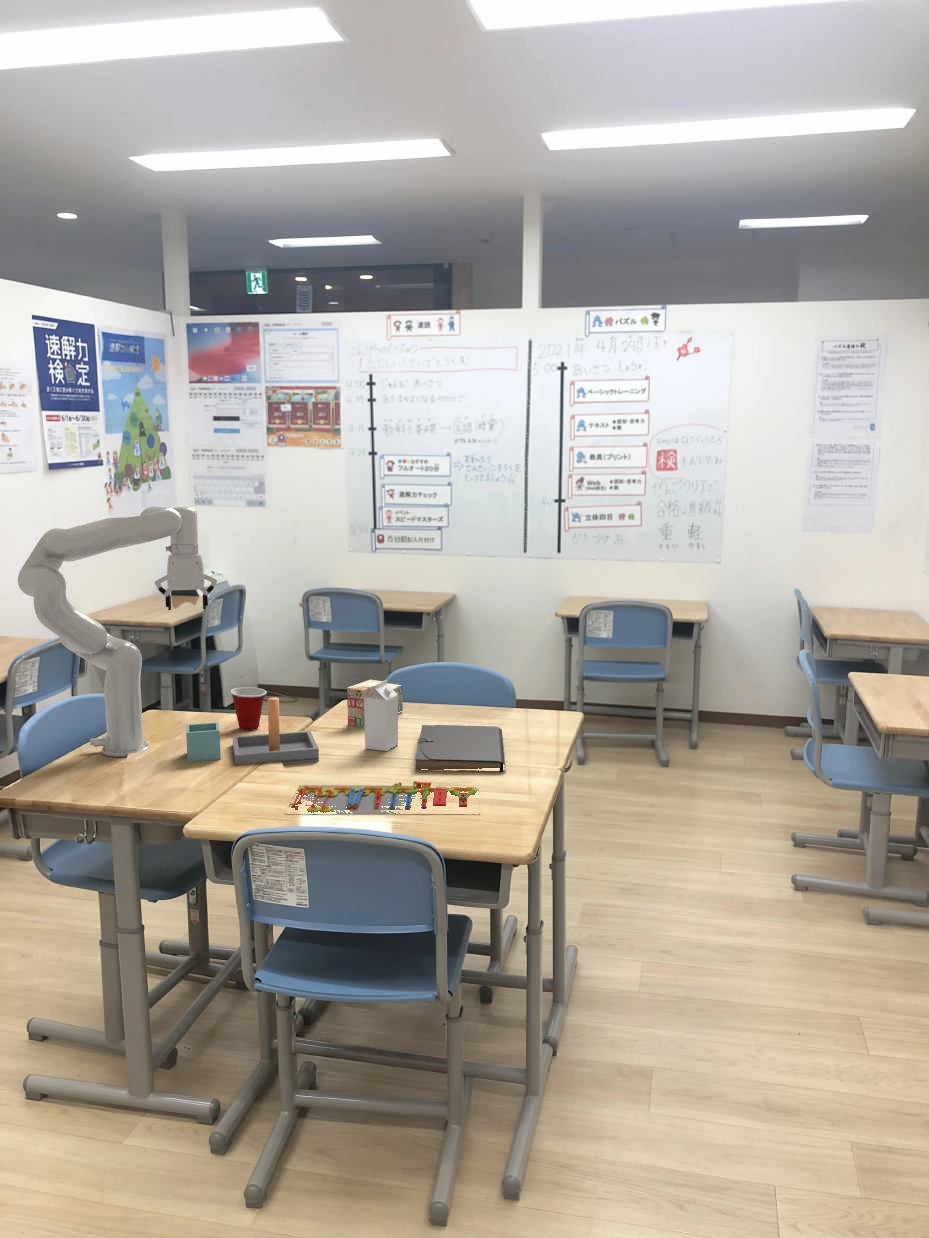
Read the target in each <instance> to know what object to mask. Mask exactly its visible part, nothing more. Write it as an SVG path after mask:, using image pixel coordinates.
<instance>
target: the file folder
mask: <svg viewBox="0 0 929 1238" xmlns="http://www.w3.org/2000/svg"><path fill="white" fill-rule="evenodd" d="M420 730H421V731H420V734H419V738H418V742H417V748H416V753H415V757H414V760H415V770H421V769H428V770H444V769H478V768H479V769H482V768H502V767H501V766H502V763H503V764H504V765H505V766H506V762H505V750H504V749H505V748H504V739H503V730H502V729H501V727H500V726H494V725H491V726H490V725H487V726H486V725H460V724H459V725H456V724H455V725H454V724H453V725H452V724H435V725H430V724H421V729H420Z"/></svg>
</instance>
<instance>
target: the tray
mask: <svg viewBox="0 0 929 1238" xmlns="http://www.w3.org/2000/svg"><path fill="white" fill-rule="evenodd" d="M231 739H232V750H233V755H234V756H233V757H234V762H235V766H236V765H247V764H258V763H259V764H260V763H271V762H272V763H273V762H281V764H282V765H289V764H290V765H291V764H300V763H311V762H312V763H313V762H319V761H320V751H319V750H320V749H319V746H318V744H317V742H316V740H315V738H314V736H313V733H312V731H311V730H306V731H305V730H302V731H291V732H280V751H269V733H263V734H262V733H261V734H251V735H250V734H249V735H239V736H238V735H237V736H232V738H231Z"/></svg>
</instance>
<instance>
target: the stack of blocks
mask: <svg viewBox="0 0 929 1238" xmlns="http://www.w3.org/2000/svg"><path fill="white" fill-rule="evenodd" d="M383 681H384V680H383ZM383 681H382V680H374V679H368V680H365V681H362V682H360V683H357V684H354V685H351V686H347V687H346V689H347V690H346V691H347V697H346V701H347V703H346V704H347V705H346V707H347V726H352V727H353V726H354V727H358V728H363V729H365V707H364V698H365V697H366V696H367V695H368V694H369V693H371V692H372V691H373V690H374V689H375V685H376V684H378V683H381V682H383ZM387 684H388V685H389V686H390V687H391V688H392V689H393V690H394V691H395V692H396V693H397V695H398V712H400V711H404V710H403V702H404V701H403V699H404V698H403V685H402V684H401V685H400V684H396V683H395V684H394V683H388V682H387Z"/></svg>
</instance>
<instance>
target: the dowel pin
mask: <svg viewBox="0 0 929 1238" xmlns="http://www.w3.org/2000/svg"><path fill="white" fill-rule="evenodd" d="M267 721H268V722H267V723H268V734H269V751H280V733H281V732H280V698H279V697H269V698H267Z"/></svg>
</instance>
